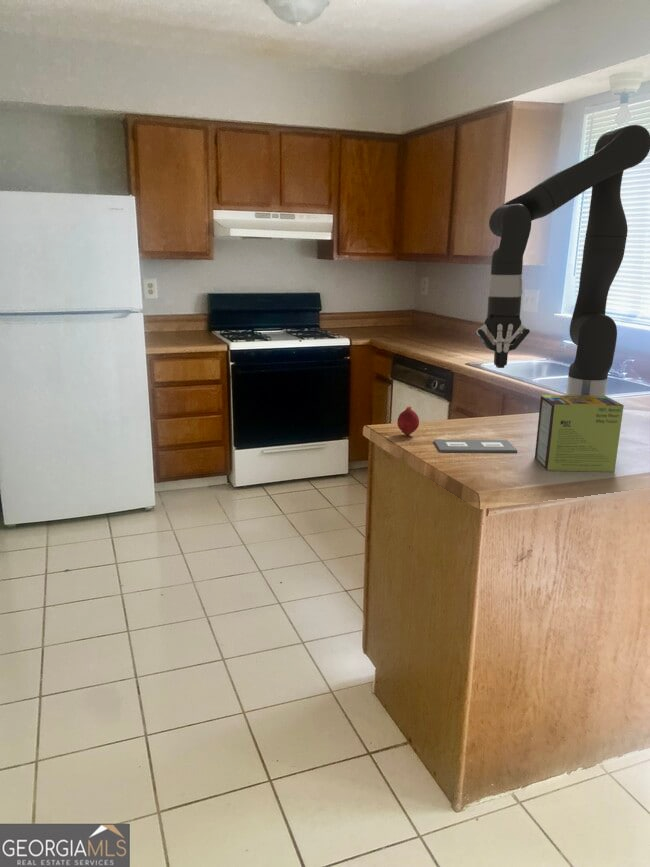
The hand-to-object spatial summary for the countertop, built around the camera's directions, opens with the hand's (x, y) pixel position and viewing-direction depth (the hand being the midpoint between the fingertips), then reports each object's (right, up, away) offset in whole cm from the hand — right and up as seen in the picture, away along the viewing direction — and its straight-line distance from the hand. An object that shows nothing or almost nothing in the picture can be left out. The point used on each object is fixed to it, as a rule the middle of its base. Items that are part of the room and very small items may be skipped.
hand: (499, 367), depth 155 cm
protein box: (+15, -24, -6) cm, 29 cm away
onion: (-20, -17, +16) cm, 31 cm away
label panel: (-5, -19, +6) cm, 21 cm away
